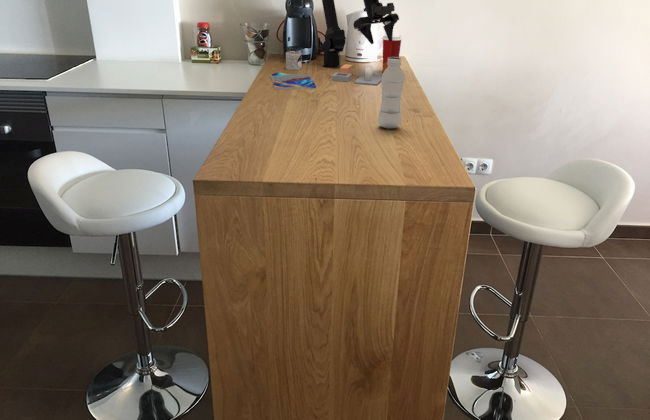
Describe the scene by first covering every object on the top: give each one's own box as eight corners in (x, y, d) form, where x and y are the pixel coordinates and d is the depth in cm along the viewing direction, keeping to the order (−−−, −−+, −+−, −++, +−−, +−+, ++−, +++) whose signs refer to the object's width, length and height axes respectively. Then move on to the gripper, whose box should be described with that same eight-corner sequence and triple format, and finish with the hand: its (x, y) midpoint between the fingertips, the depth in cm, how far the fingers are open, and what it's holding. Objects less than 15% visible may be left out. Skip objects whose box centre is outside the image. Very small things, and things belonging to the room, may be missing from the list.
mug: (301, 70, 241) (301, 54, 238) (285, 70, 241) (285, 53, 238) (302, 66, 250) (302, 50, 247) (286, 65, 250) (286, 49, 247)
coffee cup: (399, 70, 246) (402, 34, 240) (399, 74, 239) (402, 37, 233) (379, 69, 247) (382, 33, 241) (379, 73, 240) (381, 36, 233)
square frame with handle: (341, 73, 237) (341, 63, 235) (356, 74, 235) (356, 65, 234) (332, 80, 224) (332, 70, 223) (347, 81, 223) (348, 71, 221)
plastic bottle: (375, 124, 170) (380, 55, 162) (398, 124, 171) (403, 56, 163) (379, 131, 165) (384, 60, 156) (402, 131, 165) (408, 60, 157)
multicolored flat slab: (270, 76, 231) (270, 71, 230) (307, 76, 234) (307, 71, 233) (274, 91, 208) (274, 85, 208) (316, 91, 211) (316, 85, 210)
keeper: (353, 83, 221) (354, 68, 218) (363, 74, 236) (364, 60, 234) (376, 85, 219) (377, 70, 216) (385, 76, 234) (386, 62, 232)
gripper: (364, -4, 212) (374, 38, 213) (402, -7, 221) (412, 33, 222) (348, 8, 222) (358, 48, 223) (385, 4, 231) (395, 42, 232)
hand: (381, 42), depth 225 cm, fingers open, 9 cm apart
